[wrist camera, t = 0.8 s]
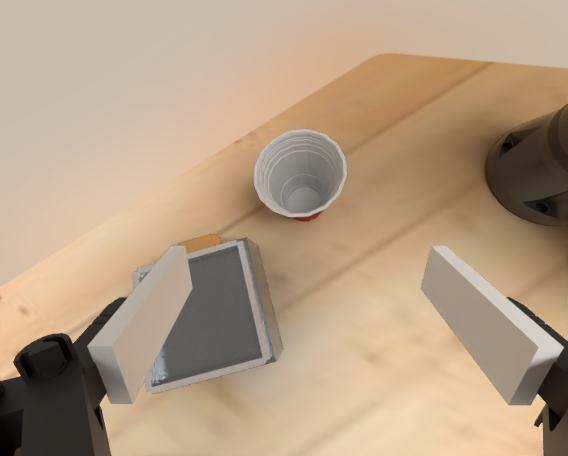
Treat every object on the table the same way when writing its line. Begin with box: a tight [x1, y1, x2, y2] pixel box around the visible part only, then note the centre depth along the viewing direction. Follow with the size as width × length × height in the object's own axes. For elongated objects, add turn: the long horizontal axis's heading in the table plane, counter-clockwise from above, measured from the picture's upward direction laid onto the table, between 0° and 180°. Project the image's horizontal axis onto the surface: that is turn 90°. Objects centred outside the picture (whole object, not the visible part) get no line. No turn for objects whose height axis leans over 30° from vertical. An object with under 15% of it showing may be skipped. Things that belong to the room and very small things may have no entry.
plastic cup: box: [254, 129, 347, 221], centre depth 36 cm, size 11×11×12 cm
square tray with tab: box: [132, 234, 283, 394], centre depth 36 cm, size 15×17×8 cm
